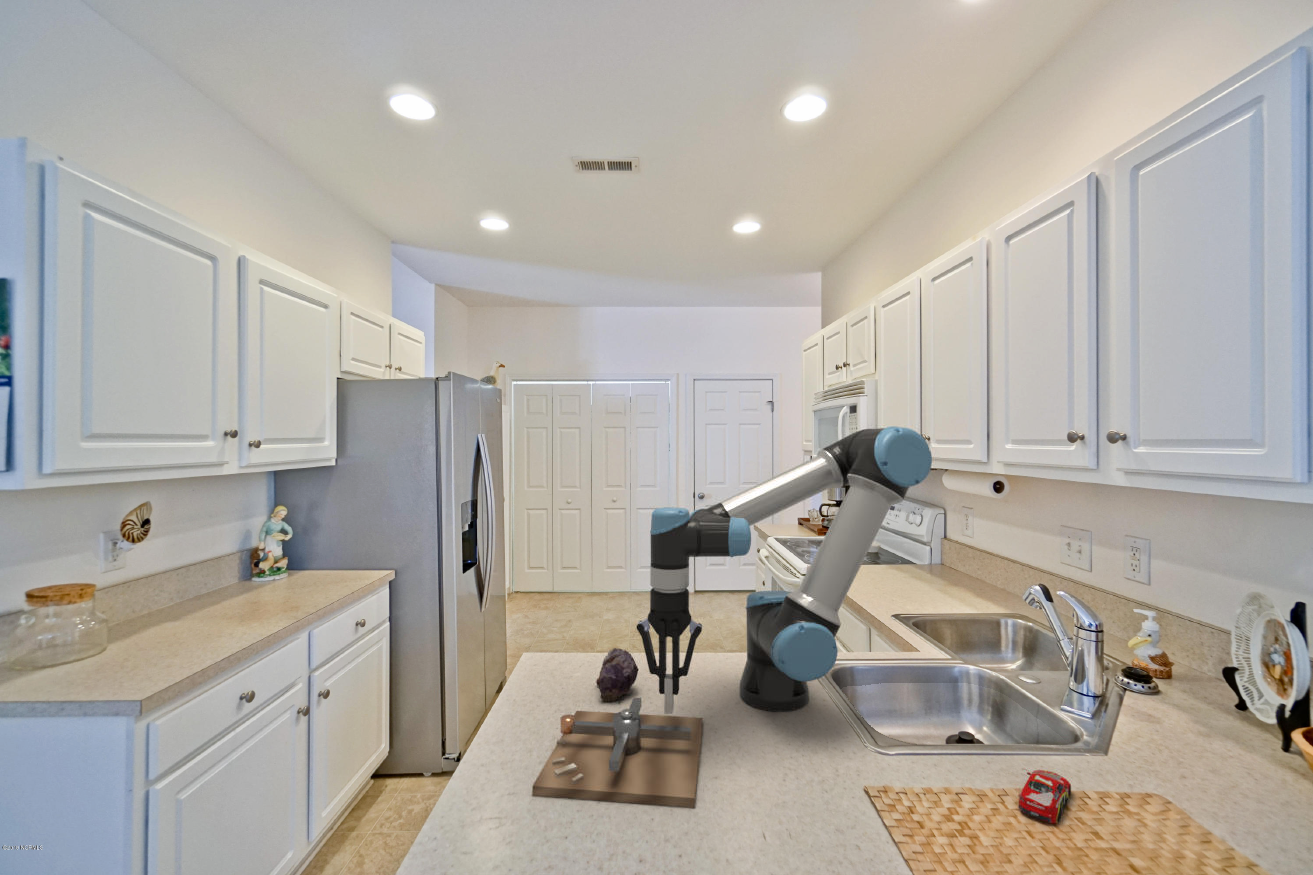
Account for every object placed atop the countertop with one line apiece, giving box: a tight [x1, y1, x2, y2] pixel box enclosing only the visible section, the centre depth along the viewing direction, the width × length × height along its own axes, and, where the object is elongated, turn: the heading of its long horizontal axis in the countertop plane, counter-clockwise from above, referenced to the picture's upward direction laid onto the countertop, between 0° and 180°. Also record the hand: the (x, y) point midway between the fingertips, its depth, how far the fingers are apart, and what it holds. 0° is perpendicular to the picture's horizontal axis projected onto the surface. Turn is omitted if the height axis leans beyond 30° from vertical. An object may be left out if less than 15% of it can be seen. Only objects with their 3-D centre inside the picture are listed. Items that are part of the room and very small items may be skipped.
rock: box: [595, 647, 639, 703], centre depth 128 cm, size 12×9×10 cm
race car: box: [1018, 769, 1072, 824], centre depth 88 cm, size 13×5×4 cm, turn 134°
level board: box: [531, 710, 704, 809], centre depth 101 cm, size 26×26×2 cm
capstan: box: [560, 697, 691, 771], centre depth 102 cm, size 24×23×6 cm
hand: (669, 710), depth 109 cm, fingers closed
